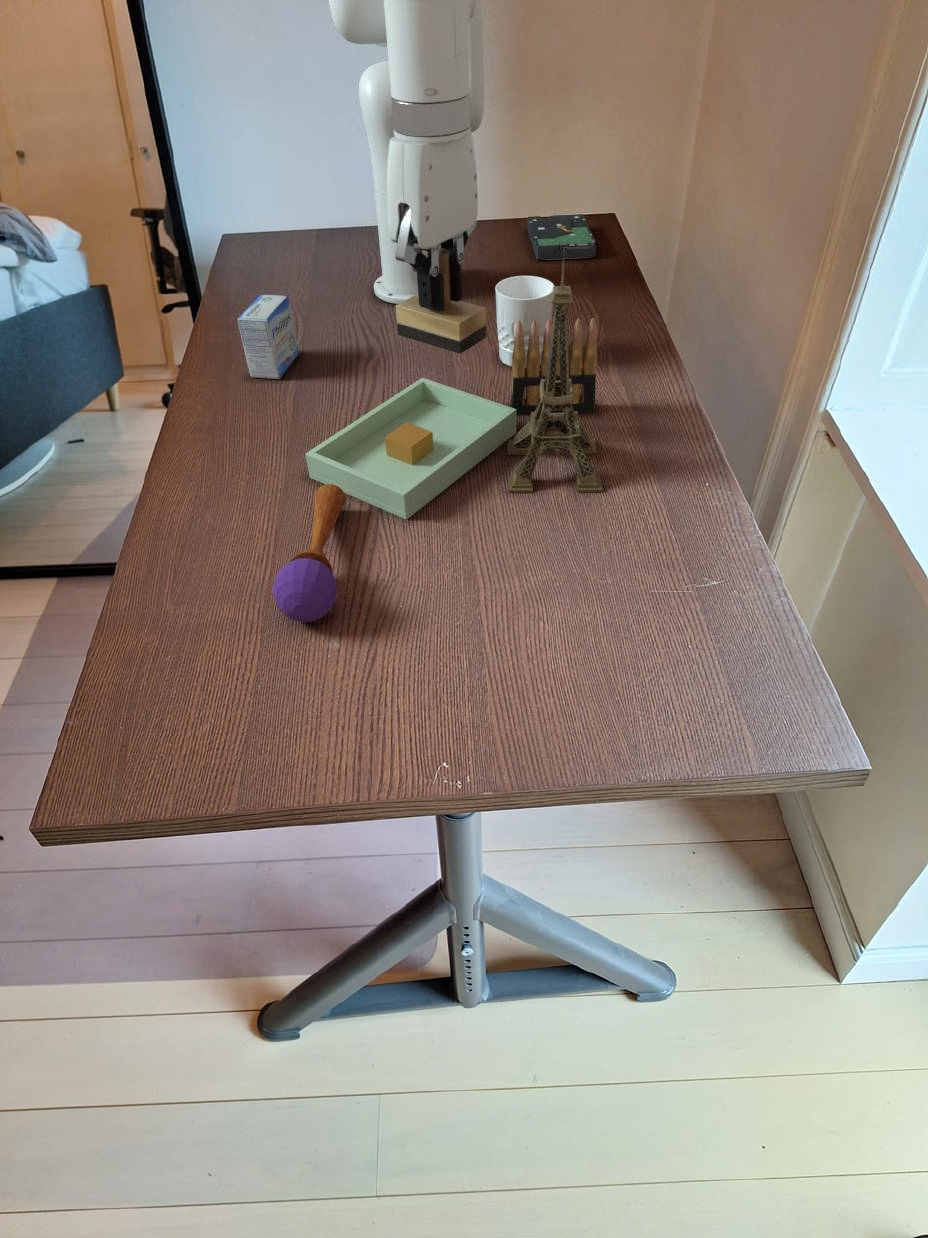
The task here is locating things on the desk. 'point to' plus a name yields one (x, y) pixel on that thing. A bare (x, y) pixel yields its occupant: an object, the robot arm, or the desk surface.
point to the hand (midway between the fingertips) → (440, 301)
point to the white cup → (522, 311)
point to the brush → (442, 318)
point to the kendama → (311, 565)
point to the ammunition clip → (576, 372)
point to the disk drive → (561, 237)
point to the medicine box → (268, 336)
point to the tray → (402, 489)
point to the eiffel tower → (543, 421)
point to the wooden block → (409, 443)
